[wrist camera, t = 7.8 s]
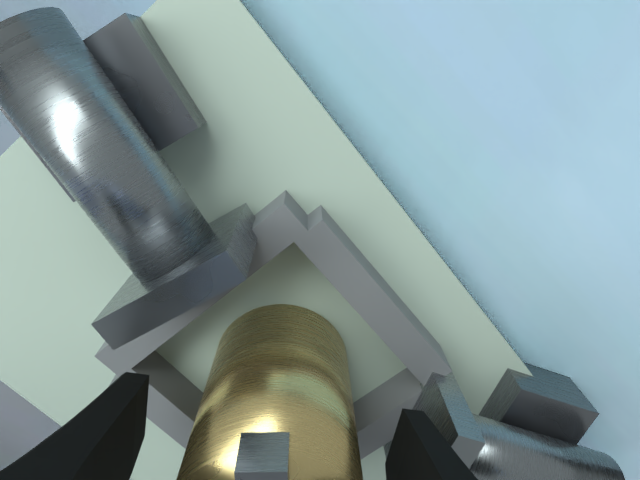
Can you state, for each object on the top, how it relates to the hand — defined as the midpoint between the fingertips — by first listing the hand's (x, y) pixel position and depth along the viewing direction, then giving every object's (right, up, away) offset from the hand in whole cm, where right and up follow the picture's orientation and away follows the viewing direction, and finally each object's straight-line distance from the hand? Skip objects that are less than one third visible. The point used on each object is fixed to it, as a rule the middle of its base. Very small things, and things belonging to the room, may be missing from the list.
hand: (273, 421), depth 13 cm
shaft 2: (+7, -1, +5) cm, 9 cm away
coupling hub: (0, +1, +3) cm, 3 cm away
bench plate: (-1, +1, +4) cm, 4 cm away
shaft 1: (-4, +8, +1) cm, 9 cm away
